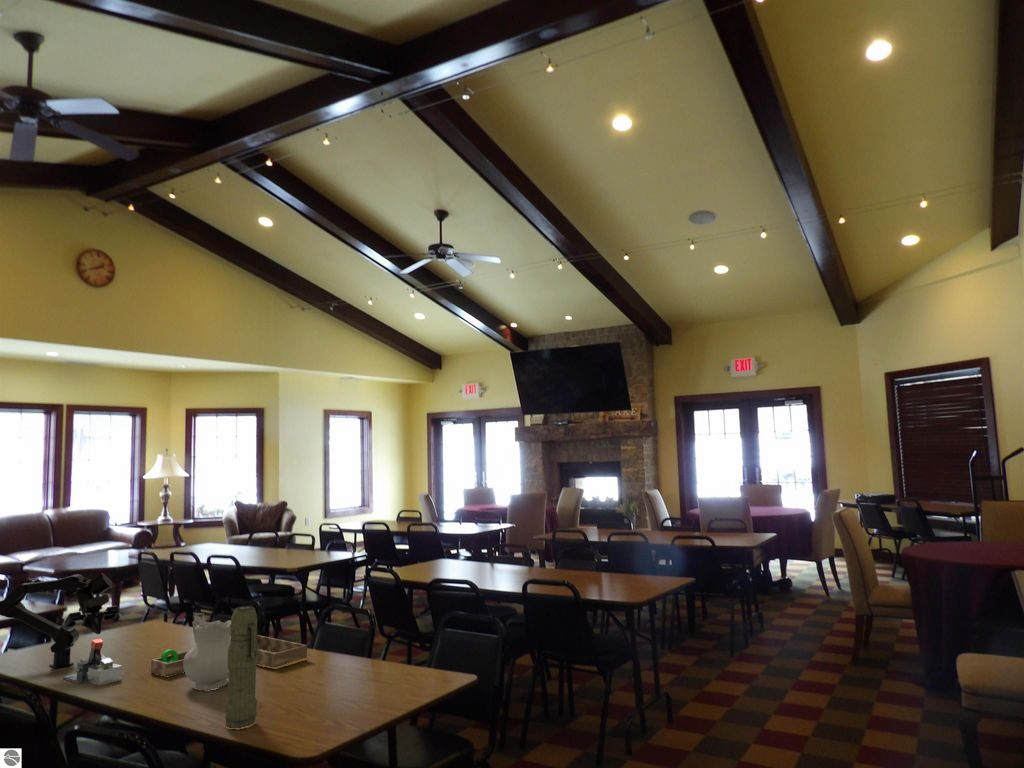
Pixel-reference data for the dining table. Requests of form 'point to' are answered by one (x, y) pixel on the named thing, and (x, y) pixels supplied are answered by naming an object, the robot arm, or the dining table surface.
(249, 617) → the thermos
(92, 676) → the housing
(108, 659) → the lever
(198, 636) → the ceramic pitcher
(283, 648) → the brown open crate
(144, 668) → the dining table surface
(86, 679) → the press frame
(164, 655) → the mechanical part
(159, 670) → the part crate
